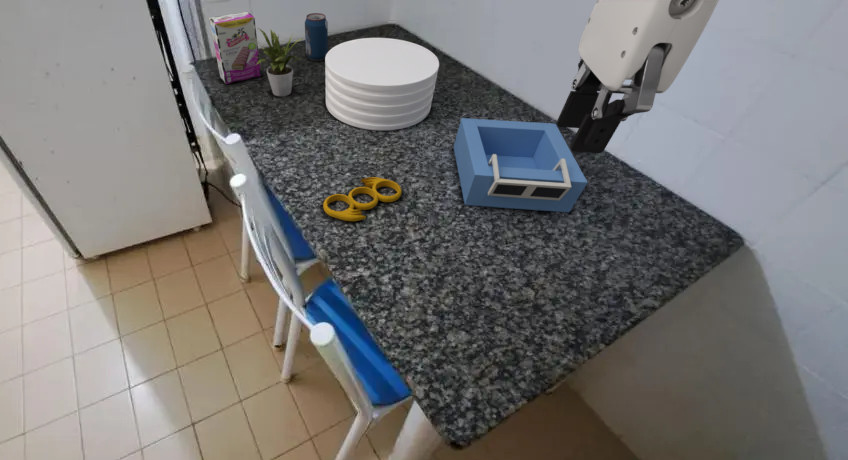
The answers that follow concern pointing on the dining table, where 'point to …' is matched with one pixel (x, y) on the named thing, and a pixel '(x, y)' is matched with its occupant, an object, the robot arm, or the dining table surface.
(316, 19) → the soda can
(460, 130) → the bin
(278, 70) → the house plant
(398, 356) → the dining table surface
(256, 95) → the dining table surface
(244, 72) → the candy bar box
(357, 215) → the yellow winged triple ring
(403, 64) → the plate stack
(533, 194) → the white sunglasses
